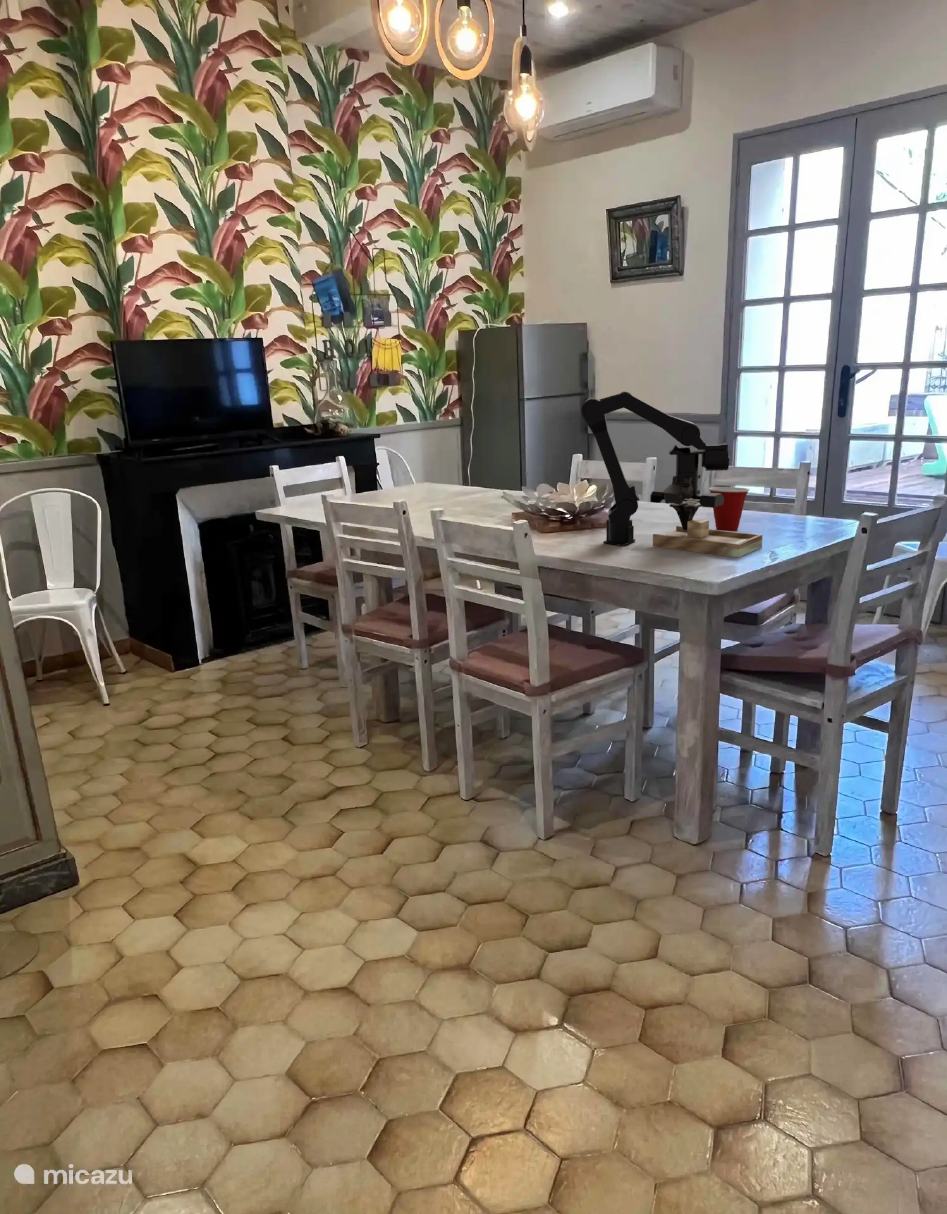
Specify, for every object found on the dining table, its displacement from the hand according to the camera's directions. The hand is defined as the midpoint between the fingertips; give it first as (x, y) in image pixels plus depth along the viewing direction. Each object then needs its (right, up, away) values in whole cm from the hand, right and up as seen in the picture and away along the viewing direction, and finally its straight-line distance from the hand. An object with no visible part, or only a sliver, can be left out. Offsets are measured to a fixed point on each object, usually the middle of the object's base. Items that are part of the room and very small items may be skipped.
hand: (685, 530), depth 221 cm
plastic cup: (+15, +1, +13) cm, 20 cm away
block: (+3, -2, -2) cm, 4 cm away
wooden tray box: (+4, -5, -6) cm, 9 cm away
